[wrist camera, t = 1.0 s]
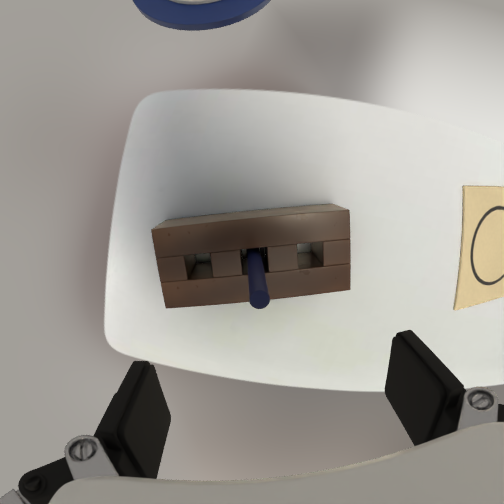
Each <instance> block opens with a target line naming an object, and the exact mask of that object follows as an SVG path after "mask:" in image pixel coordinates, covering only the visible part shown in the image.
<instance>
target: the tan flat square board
mask: <svg viewBox="0 0 504 504" xmlns="http://www.w3.org/2000/svg"><path fill="white" fill-rule="evenodd" d="M500 297H504V187H496V186H463V223H462V242H461V255H460V266H459V275H458V283H457V290H456V297H455V304H454V310H459V309H462V308H466V307H470V306H473V305H477V304H480V303H484V302H487V301H491V300H494V299H497V298H500Z"/></svg>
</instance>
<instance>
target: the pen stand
mask: <svg viewBox="0 0 504 504" xmlns="http://www.w3.org/2000/svg"><path fill="white" fill-rule="evenodd" d="M151 231H152V237H153V243H154V249H155V255H156V260H157V266H158V271H159V277H160V281H161V287H162V292H163V297H164V302H165V306H166V308H178V307H192V306H205V305H217V304H229V303H240V302H250V301H249V283H248V263H247V259H243V256H242V249H250V248H260V247H264V252H265V257H261V258H262V263H263V268H264V273H265V277H266V282H267V287H268V291H269V296H270V299H279V298H288V297H297V296H305V295H314V294H322V293H330V292H337V291H345V290H350V213H349V210H348V209H345V208H343V207H340V206H337V205H335V204H321V205H308V206H296V207H284V208H273V209H262V210H252V211H242V212H232V213H223V214H213V215H204V216H196V217H187V218H179V219H171V220H165V221H164V222H162V223H161V224H159V225H158V226H156V227H155V228H153V229H152V230H151ZM301 243H311V252H307V253H297V244H301ZM201 253H210V257H211V262H207V263H197V264H196V259H195V254H201Z"/></svg>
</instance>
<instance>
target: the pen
mask: <svg viewBox="0 0 504 504" xmlns="http://www.w3.org/2000/svg"><path fill="white" fill-rule="evenodd" d="M247 263H248V283H249V301H250V304H251V305H252V306H253V307H254V308H257V309H262V308H265V307H266V306H267V305H268V304H269V302H270V296H269V291H268V287H267V282H266V277H265V273H264V268H263V263H262V258H261V254H260V249H259V248H250V249H247Z"/></svg>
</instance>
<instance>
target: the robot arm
mask: <svg viewBox="0 0 504 504" xmlns="http://www.w3.org/2000/svg"><path fill="white" fill-rule="evenodd" d="M169 1H173V2H176V3H181V4H196V5H198V4H207V3H212V2H217V1H220V0H169ZM463 387H464V385H463V384H462V383H461V382H460V381H459V380H458V379H457V378H456V377H455V376H454V375H453V373H452V372H451V371H450V370H449V369H448V368H447V367H446V366H445V365H444V364H443V363H442V362H441V361H440V359H439V358H438V357H437V356H436V355H435V354H434V353H433V352H432V351H431V350H430V349H429V348H428V347H427V346H426V345H425V344H424V343H423V342H422V341H421V340H420V339H419V337H418V336H417V335H416V334H415V333H414V332H413V331H411V330H407V331H403V332H398V333H397V334H396V337H394V338H393V340H392V346H391V354H390V360H389V367H388V373H387V379H386V385H385V394H386V397H387V399H388V400H389V402H390V403H391V405H392V407H393V409H394V410H395V412H396V414H397V416H398V417H399V419H400V421H401V423H402V424H403V426H404V428H405V430H406V431H407V433H408V435H409V437H410V438H411V440H412V442H413V444H414V447H411V448H408V449H405V450H402V451H399V452H396V453H392V454H389V455H386V456H382V457H379V458H375V459H372V460H368V461H364V462H360V463H356V464H352V465H347V466H343V467H338V468H333V469H328V470H323V471H317V472H311V473H305V474H298V475H291V476H284V477H274V478H263V479H251V480H231V481H187V480H164V479H156V478H157V474H158V470H159V466H160V462H161V457H162V454H163V449H164V445H165V441H166V437H167V433H168V430H169V426H170V422H171V415H170V412H169V409H168V406H167V403H166V400H165V398H164V395H163V392H162V389H161V386H160V383H159V380H158V377H157V373H156V370H155V367H154V365H150V363H149V362H148V361H134V362H133V363H132V365H131V367H130V369H129V370H128V372H127V374H126V376H125V378H124V380H123V382H122V384H121V386H120V388H119V390H118V392H117V393H116V394H115V395H114V396H113V398H112V400H111V402H110V404H109V406H108V408H107V410H106V412H105V414H104V416H103V418H102V420H101V422H100V424H99V426H98V428H97V430H96V432H95V434H94V436H90V435H81V436H78V437H75V438H73V439H72V440H70V441H69V442H68V443H67V445H66V447H65V450H64V453H65V457H64V458H62V459H60V460H57V461H55V462H52V463H50V464H47V465H45V466H42V467H40V468H37V469H35V470H32V471H29V472H27V473H26V474H24V475H23V476H22V477H21V479H20V481H19V485H18V486H19V490H17V491H15V490H14V489H12V490H11V491H10V492H8V493H7V494H5V495H4V496H2V497H1V498H0V504H504V405H502V404H498V398H497V395H496V394H495V393H494V392H493V391H492V390H490V389H488V388H485V387H474V388H471V389H469V390H468V391H466V390H465V389H464V388H463Z"/></svg>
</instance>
